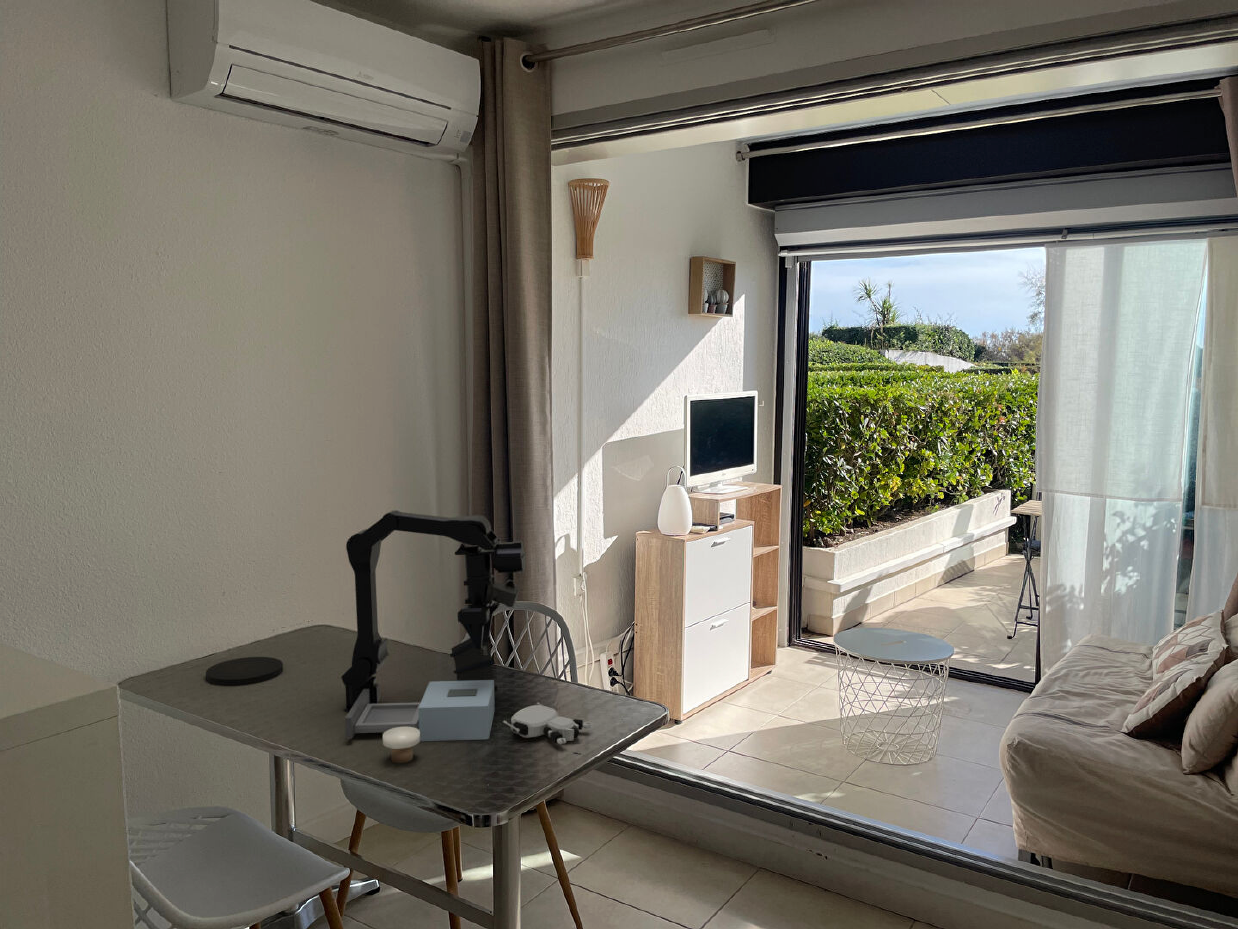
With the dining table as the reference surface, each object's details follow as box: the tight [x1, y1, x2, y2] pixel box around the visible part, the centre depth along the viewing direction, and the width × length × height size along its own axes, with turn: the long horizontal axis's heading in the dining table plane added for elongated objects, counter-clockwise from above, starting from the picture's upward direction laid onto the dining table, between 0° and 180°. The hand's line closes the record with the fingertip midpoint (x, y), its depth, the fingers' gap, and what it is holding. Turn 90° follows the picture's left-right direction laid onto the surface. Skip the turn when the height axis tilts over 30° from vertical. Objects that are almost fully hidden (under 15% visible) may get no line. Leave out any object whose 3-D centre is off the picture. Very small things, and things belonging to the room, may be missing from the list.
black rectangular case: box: [449, 636, 498, 703], centre depth 212 cm, size 4×13×15 cm, turn 44°
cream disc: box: [382, 727, 421, 749], centre depth 179 cm, size 7×7×2 cm
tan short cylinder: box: [390, 746, 414, 764], centre depth 179 cm, size 4×4×4 cm
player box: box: [418, 679, 496, 742], centre depth 196 cm, size 14×16×7 cm
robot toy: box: [502, 702, 591, 745], centre depth 191 cm, size 12×4×15 cm
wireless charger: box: [205, 656, 284, 687], centre depth 231 cm, size 18×18×2 cm
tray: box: [344, 689, 421, 740], centre depth 195 cm, size 14×17×4 cm
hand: (482, 642), depth 205 cm, fingers open, 8 cm apart
